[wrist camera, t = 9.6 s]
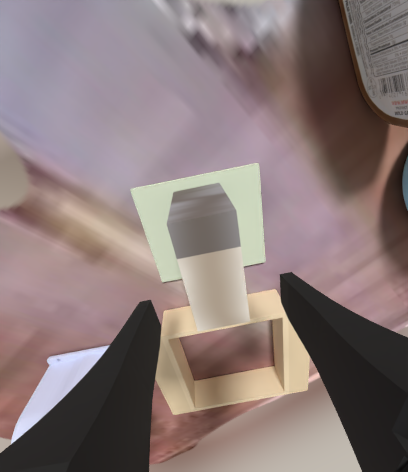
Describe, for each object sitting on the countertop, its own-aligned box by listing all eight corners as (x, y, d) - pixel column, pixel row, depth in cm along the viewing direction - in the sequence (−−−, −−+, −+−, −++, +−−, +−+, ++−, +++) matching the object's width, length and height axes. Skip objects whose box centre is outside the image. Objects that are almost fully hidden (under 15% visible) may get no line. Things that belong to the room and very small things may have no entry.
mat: (162, 279, 23) (162, 282, 22) (131, 188, 18) (130, 190, 18) (263, 259, 23) (265, 262, 22) (257, 162, 18) (258, 163, 18)
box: (194, 275, 22) (198, 331, 16) (173, 191, 18) (166, 224, 12) (232, 267, 22) (250, 321, 16) (219, 182, 18) (236, 210, 12)
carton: (174, 387, 32) (173, 415, 29) (142, 314, 25) (136, 341, 22) (295, 364, 31) (307, 390, 28) (296, 284, 25) (312, 307, 21)
